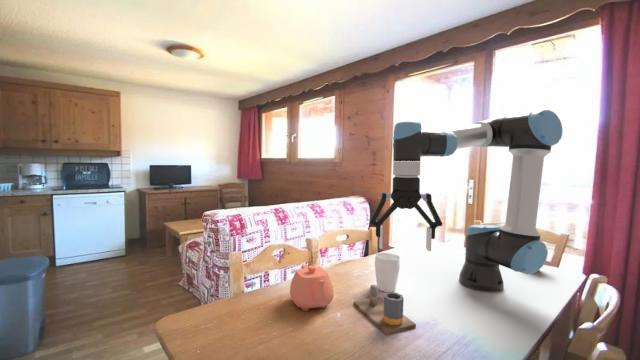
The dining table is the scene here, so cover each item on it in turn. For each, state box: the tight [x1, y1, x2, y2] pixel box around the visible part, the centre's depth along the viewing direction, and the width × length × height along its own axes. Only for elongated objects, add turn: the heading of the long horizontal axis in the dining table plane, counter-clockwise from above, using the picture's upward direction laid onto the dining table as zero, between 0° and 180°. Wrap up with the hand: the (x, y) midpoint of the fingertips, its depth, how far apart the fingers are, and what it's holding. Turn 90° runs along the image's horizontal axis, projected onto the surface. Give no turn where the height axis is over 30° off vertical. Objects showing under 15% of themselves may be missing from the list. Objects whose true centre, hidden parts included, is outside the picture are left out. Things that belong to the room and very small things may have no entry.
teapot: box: [289, 264, 334, 312], centre depth 95 cm, size 13×20×12 cm, turn 21°
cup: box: [374, 252, 401, 293], centre depth 109 cm, size 9×9×12 cm
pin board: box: [352, 284, 417, 335], centre depth 90 cm, size 18×10×7 cm, turn 23°
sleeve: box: [383, 291, 404, 325], centre depth 85 cm, size 5×5×7 cm
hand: (404, 248), depth 87 cm, fingers open, 13 cm apart
